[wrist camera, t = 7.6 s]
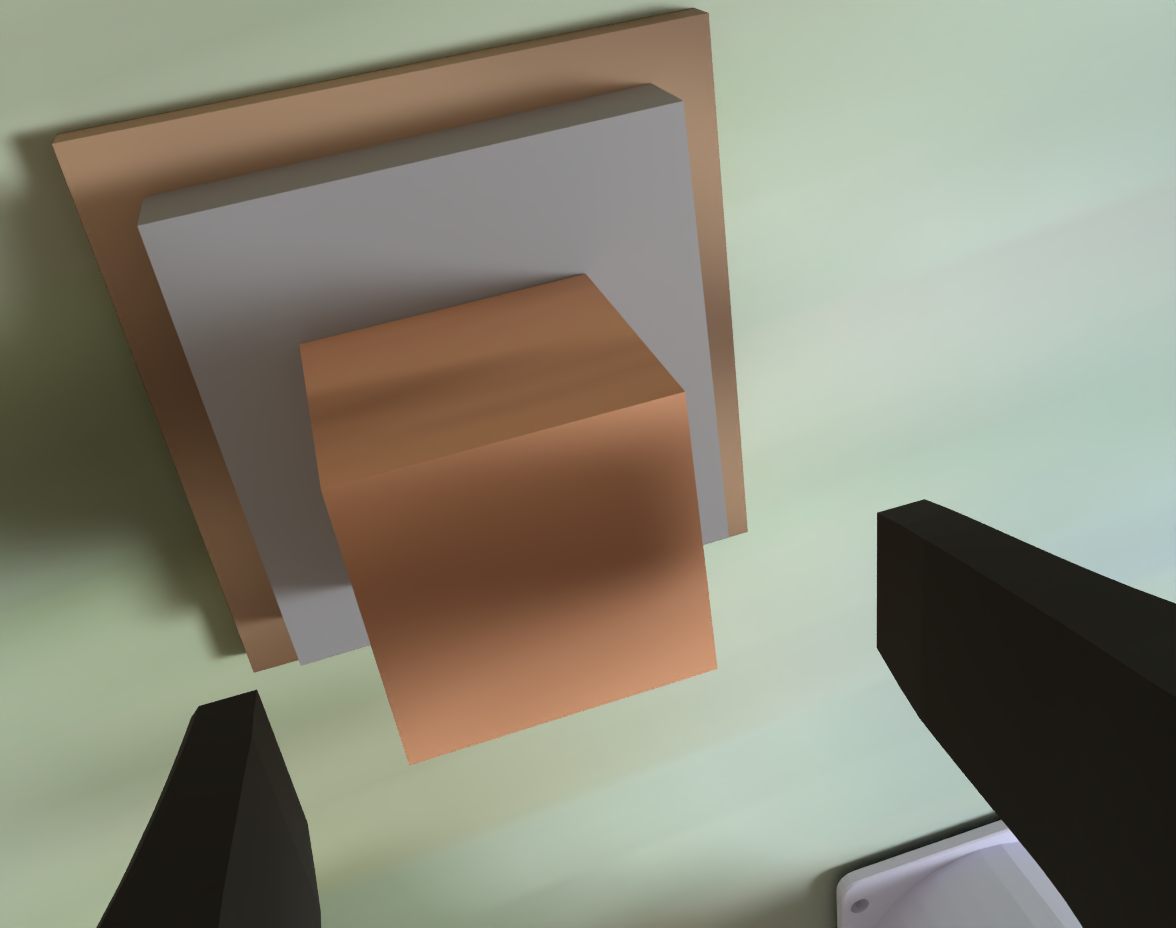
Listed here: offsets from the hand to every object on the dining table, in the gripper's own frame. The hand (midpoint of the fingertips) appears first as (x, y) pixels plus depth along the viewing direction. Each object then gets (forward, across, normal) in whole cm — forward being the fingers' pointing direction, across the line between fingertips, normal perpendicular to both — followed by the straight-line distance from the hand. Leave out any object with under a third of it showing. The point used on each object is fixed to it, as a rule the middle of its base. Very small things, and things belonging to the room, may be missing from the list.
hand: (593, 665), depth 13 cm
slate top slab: (+8, 0, 0) cm, 8 cm away
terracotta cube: (+7, 0, 0) cm, 7 cm away
